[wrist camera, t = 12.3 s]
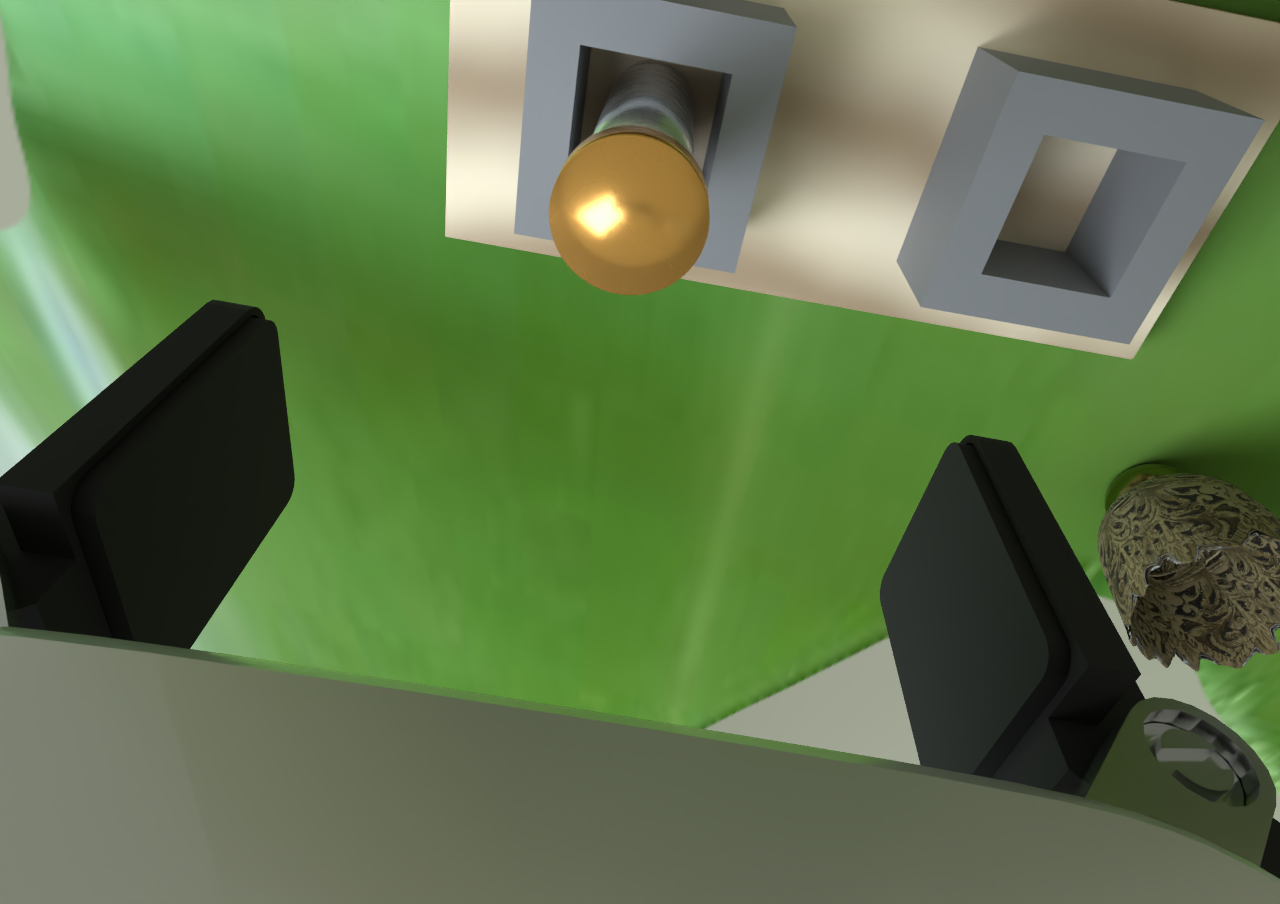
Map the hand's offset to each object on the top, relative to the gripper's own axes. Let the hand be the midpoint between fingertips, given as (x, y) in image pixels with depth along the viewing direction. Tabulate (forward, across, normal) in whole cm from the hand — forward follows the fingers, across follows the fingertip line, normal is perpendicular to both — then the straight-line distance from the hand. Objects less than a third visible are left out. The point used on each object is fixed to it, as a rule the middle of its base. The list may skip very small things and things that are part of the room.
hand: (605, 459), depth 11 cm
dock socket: (+20, +1, 0) cm, 20 cm away
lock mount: (+20, -13, 0) cm, 25 cm away
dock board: (+22, -6, 0) cm, 23 cm away
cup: (+22, -25, +13) cm, 36 cm away
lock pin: (+20, 0, 0) cm, 20 cm away
